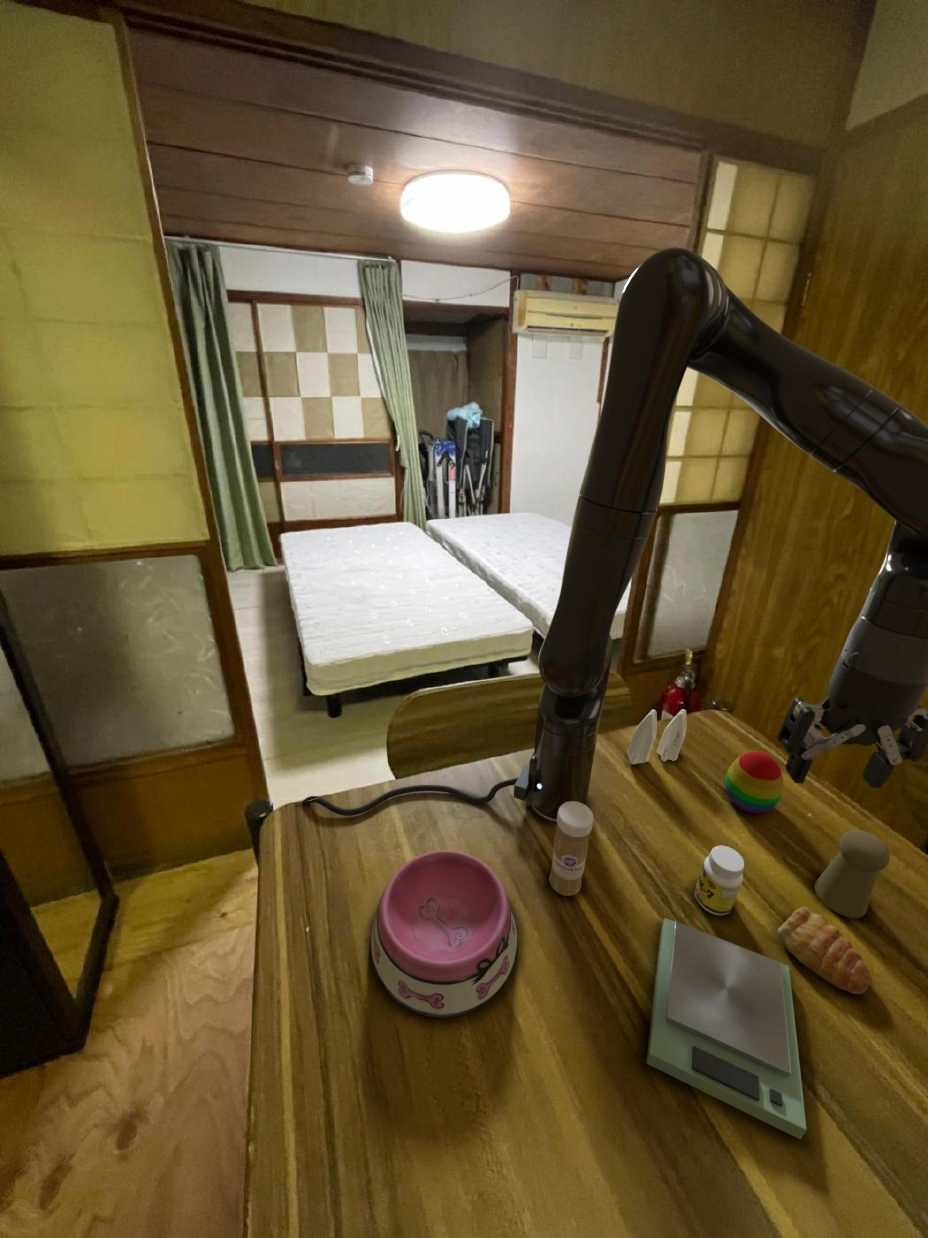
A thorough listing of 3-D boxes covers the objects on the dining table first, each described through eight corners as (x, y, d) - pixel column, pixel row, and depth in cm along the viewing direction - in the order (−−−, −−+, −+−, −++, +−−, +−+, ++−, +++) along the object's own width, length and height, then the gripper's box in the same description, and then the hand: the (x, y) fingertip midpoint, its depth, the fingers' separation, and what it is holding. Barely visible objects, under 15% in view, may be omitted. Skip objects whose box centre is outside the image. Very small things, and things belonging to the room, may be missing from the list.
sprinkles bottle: (552, 898, 70) (562, 827, 64) (546, 868, 74) (554, 799, 68) (585, 897, 70) (598, 826, 64) (577, 867, 74) (588, 799, 68)
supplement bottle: (687, 885, 72) (700, 843, 68) (719, 883, 72) (734, 841, 69) (705, 918, 68) (720, 875, 64) (739, 915, 68) (755, 873, 64)
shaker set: (630, 772, 92) (640, 722, 87) (617, 757, 95) (626, 708, 91) (686, 759, 95) (699, 711, 90) (671, 745, 99) (683, 697, 94)
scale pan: (665, 1021, 55) (667, 1016, 55) (674, 925, 64) (675, 921, 64) (788, 1077, 51) (791, 1073, 50) (778, 966, 60) (780, 962, 60)
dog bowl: (448, 849, 77) (448, 816, 74) (547, 938, 65) (552, 903, 62) (341, 934, 65) (336, 899, 62) (439, 1061, 53) (439, 1026, 50)
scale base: (646, 1064, 53) (650, 1051, 52) (661, 927, 66) (665, 915, 65) (800, 1140, 48) (808, 1128, 47) (784, 976, 61) (790, 963, 60)
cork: (875, 922, 67) (908, 865, 63) (825, 913, 68) (853, 856, 64) (853, 882, 73) (883, 826, 68) (807, 874, 74) (832, 818, 69)
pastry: (877, 977, 61) (890, 958, 60) (849, 1010, 58) (861, 991, 56) (798, 913, 68) (807, 894, 67) (769, 939, 65) (777, 920, 64)
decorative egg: (726, 776, 91) (740, 732, 87) (778, 797, 87) (795, 751, 83) (716, 805, 85) (730, 758, 81) (771, 828, 81) (789, 781, 77)
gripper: (931, 647, 55) (874, 762, 63) (795, 640, 56) (755, 754, 63) (990, 685, 49) (919, 809, 56) (835, 677, 50) (784, 801, 57)
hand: (832, 780), depth 60 cm, fingers open, 8 cm apart
